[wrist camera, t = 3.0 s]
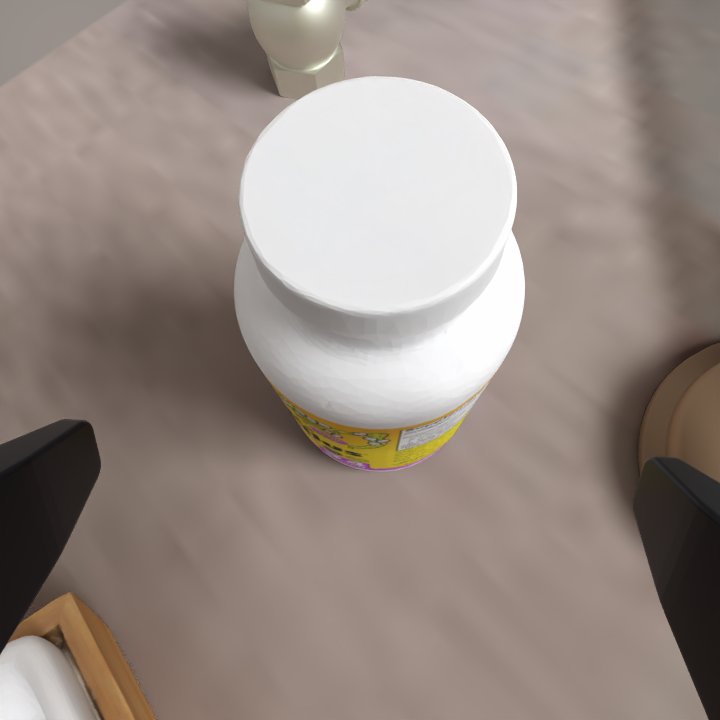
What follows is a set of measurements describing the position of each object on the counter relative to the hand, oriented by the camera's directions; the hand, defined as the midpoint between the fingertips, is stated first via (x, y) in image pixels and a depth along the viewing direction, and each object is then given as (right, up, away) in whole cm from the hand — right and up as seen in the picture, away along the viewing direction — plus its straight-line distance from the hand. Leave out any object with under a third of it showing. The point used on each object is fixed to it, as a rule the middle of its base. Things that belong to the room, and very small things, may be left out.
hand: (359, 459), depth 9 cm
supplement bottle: (+1, 0, +13) cm, 12 cm away
